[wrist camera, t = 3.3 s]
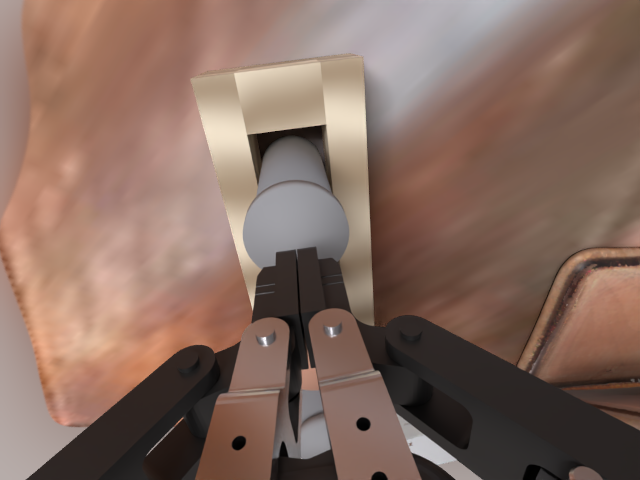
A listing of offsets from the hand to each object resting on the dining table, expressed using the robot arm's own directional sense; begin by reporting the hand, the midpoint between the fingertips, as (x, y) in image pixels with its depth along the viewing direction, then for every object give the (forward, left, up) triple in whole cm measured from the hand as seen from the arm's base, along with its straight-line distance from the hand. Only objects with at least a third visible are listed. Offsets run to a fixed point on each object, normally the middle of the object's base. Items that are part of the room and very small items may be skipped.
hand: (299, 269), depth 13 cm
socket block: (+8, 0, -17) cm, 18 cm away
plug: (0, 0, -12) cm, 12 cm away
